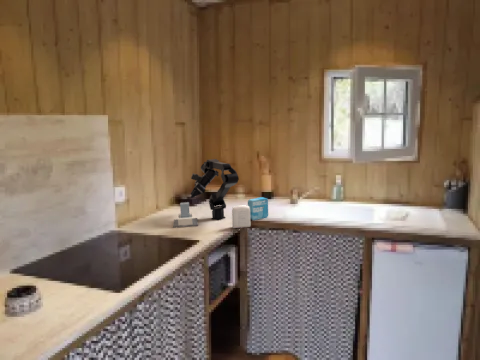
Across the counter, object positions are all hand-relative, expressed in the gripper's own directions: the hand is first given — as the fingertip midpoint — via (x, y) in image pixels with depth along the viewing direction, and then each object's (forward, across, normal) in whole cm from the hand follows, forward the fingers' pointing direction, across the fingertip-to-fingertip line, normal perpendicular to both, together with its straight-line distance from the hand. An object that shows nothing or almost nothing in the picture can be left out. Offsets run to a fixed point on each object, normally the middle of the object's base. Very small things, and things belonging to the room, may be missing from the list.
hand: (191, 196), depth 237 cm
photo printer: (-9, +29, +29) cm, 42 cm away
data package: (-18, +13, +38) cm, 44 cm away
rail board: (+12, +14, +7) cm, 20 cm away
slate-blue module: (+12, +13, +6) cm, 19 cm away
